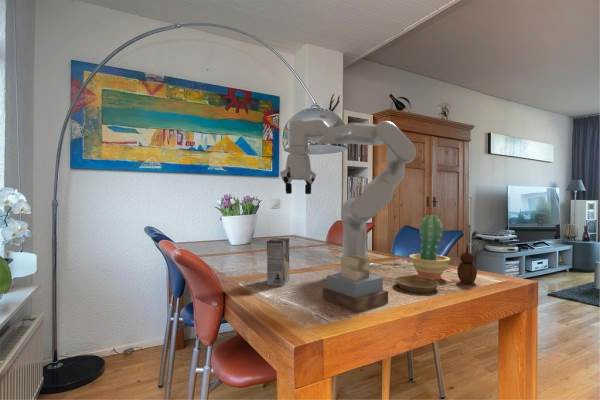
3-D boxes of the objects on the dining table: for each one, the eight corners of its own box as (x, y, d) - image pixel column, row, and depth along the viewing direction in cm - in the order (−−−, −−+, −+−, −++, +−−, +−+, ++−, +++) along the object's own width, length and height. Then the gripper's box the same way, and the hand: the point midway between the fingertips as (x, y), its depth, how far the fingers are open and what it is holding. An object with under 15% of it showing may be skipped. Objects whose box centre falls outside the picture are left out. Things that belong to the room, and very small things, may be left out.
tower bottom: (354, 292, 104) (354, 281, 104) (388, 304, 93) (388, 291, 93) (322, 300, 96) (322, 288, 96) (355, 314, 85) (355, 300, 85)
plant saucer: (400, 280, 119) (400, 274, 119) (441, 286, 111) (441, 279, 111) (389, 290, 106) (389, 282, 106) (435, 297, 98) (435, 289, 98)
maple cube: (354, 273, 98) (354, 254, 98) (369, 277, 93) (369, 257, 93) (341, 276, 95) (341, 256, 95) (355, 280, 90) (355, 260, 90)
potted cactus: (458, 278, 121) (459, 215, 121) (433, 284, 114) (433, 216, 113) (425, 270, 135) (426, 213, 134) (400, 274, 127) (401, 214, 127)
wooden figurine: (470, 285, 112) (471, 244, 111) (454, 282, 116) (455, 242, 116) (479, 282, 116) (479, 242, 115) (463, 279, 120) (464, 241, 120)
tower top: (353, 282, 103) (353, 270, 103) (382, 290, 93) (382, 277, 93) (326, 288, 96) (326, 275, 96) (355, 298, 86) (355, 284, 86)
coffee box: (273, 278, 120) (273, 237, 120) (289, 279, 119) (289, 238, 119) (266, 285, 111) (266, 240, 111) (283, 286, 110) (283, 241, 110)
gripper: (309, 154, 133) (309, 194, 133) (275, 150, 123) (275, 193, 123) (321, 152, 127) (320, 194, 127) (286, 148, 117) (285, 193, 117)
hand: (298, 193), depth 125 cm, fingers open, 9 cm apart
